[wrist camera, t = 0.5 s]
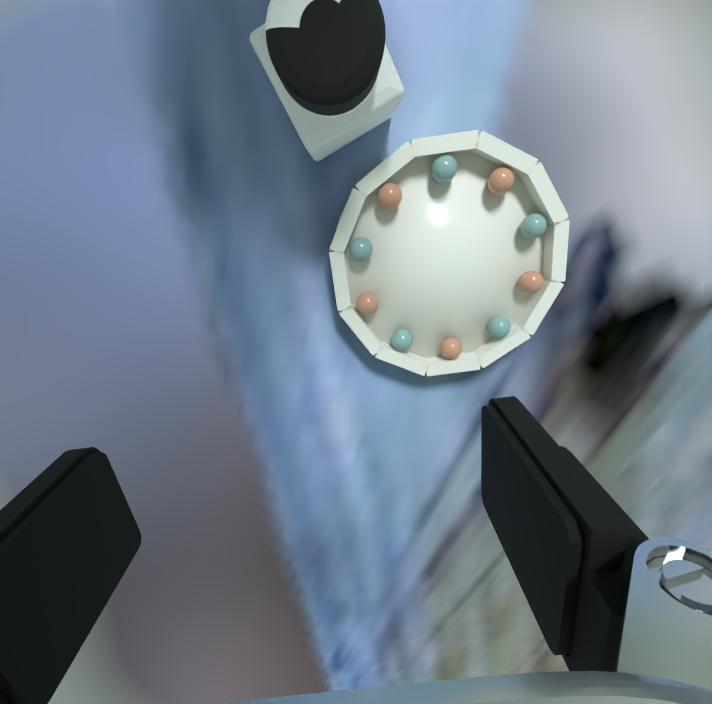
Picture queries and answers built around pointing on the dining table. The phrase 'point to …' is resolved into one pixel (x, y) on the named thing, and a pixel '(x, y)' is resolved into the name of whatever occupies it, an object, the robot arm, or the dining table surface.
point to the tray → (449, 253)
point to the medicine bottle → (329, 68)
